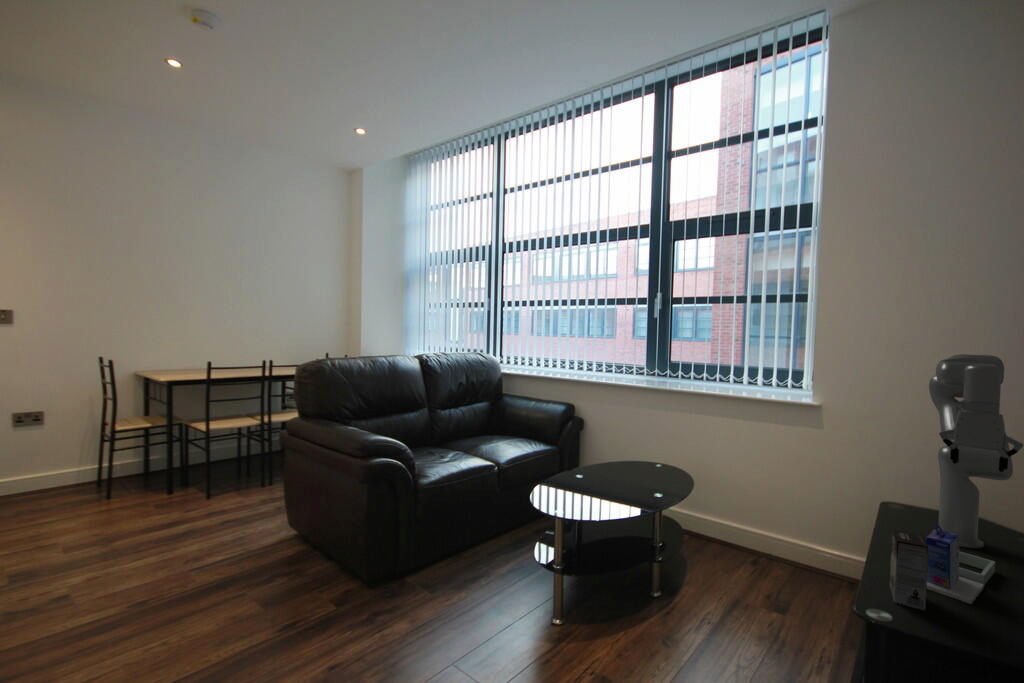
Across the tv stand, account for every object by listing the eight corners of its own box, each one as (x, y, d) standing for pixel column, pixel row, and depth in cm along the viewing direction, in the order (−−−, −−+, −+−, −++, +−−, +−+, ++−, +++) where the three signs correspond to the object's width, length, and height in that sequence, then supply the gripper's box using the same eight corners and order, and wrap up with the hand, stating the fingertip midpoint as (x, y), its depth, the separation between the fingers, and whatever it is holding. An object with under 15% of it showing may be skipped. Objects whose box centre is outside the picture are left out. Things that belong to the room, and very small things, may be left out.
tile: (917, 566, 139) (917, 562, 139) (983, 587, 128) (984, 584, 128) (901, 580, 131) (902, 576, 131) (971, 604, 119) (971, 600, 119)
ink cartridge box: (932, 570, 135) (935, 519, 134) (959, 578, 130) (961, 526, 130) (923, 580, 129) (926, 527, 128) (950, 589, 124) (953, 535, 124)
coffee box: (888, 587, 127) (891, 527, 127) (919, 594, 123) (922, 533, 123) (893, 603, 119) (896, 539, 119) (927, 611, 116) (930, 546, 115)
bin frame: (924, 550, 149) (925, 541, 149) (994, 571, 137) (995, 561, 137) (910, 563, 141) (910, 553, 141) (983, 586, 128) (983, 575, 128)
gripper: (937, 404, 141) (934, 461, 142) (1022, 413, 127) (1019, 476, 128) (944, 402, 146) (941, 458, 146) (1027, 411, 132) (1024, 472, 132)
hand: (977, 466), depth 137 cm, fingers open, 9 cm apart
